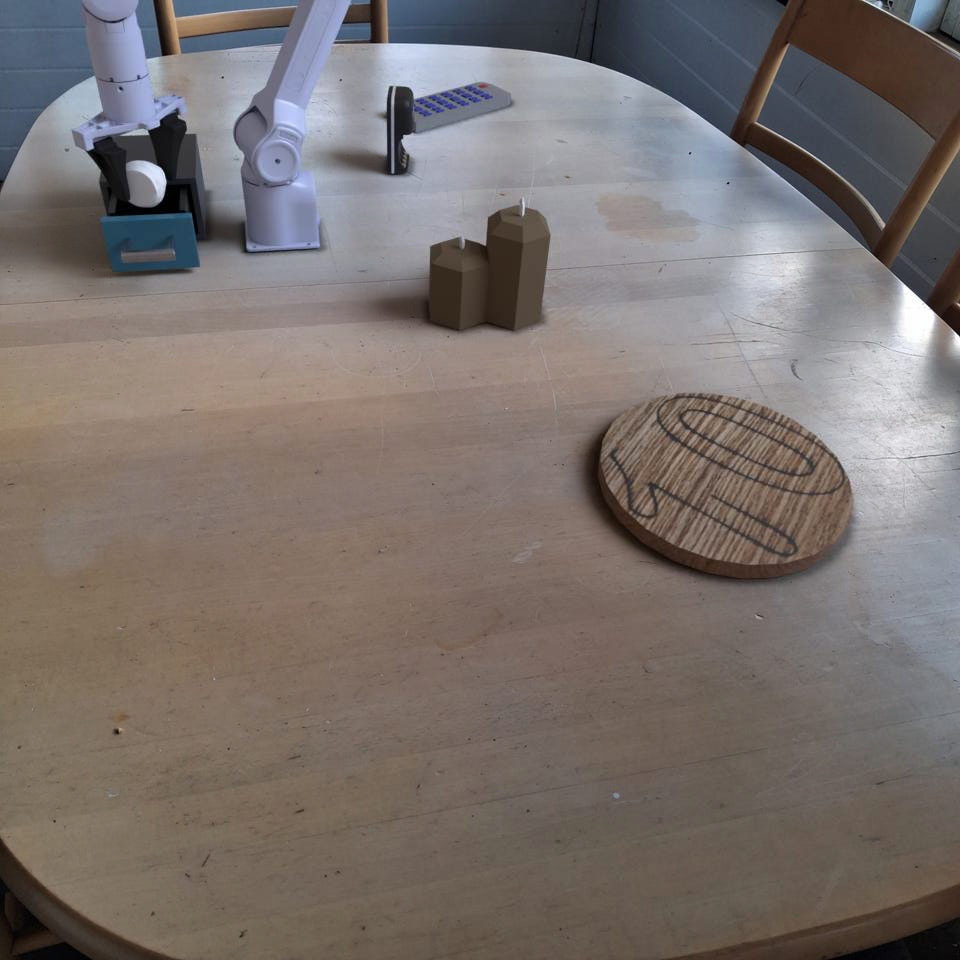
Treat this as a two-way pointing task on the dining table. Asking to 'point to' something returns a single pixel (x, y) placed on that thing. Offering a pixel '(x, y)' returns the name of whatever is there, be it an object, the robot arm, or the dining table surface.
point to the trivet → (724, 485)
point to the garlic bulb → (145, 183)
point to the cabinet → (186, 174)
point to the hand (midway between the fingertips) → (145, 188)
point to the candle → (492, 273)
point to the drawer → (152, 233)
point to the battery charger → (398, 127)
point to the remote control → (457, 104)
